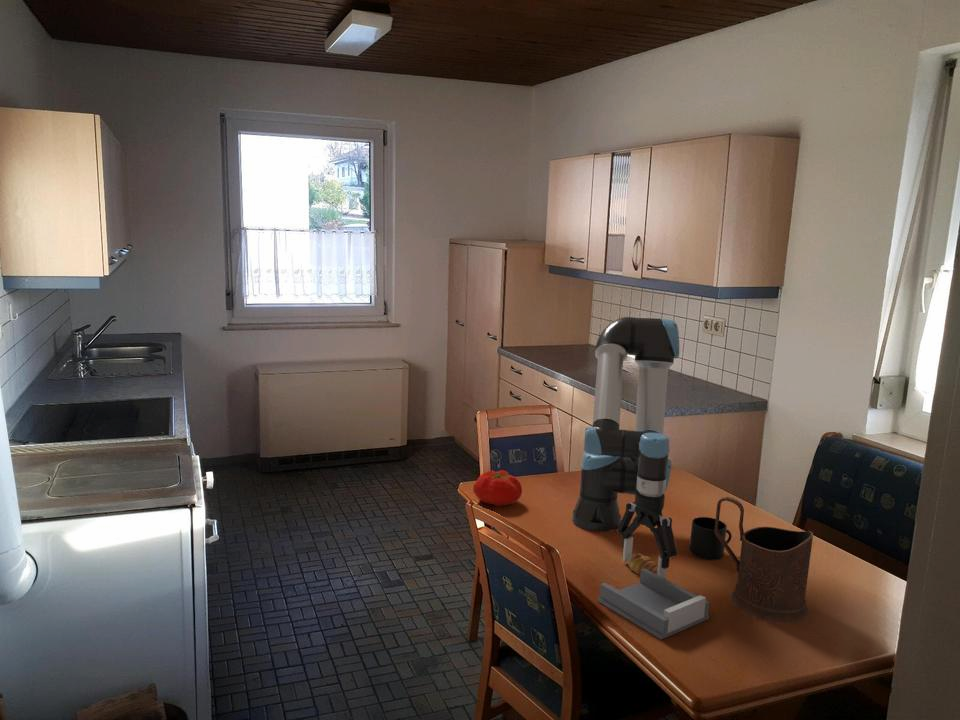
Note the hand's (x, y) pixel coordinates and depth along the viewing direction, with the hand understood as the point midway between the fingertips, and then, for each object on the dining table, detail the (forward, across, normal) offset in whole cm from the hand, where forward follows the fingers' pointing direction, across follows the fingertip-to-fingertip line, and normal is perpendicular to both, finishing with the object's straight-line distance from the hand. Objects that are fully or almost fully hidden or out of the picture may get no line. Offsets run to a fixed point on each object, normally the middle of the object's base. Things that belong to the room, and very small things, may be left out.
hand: (643, 569), depth 198 cm
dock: (+1, +15, -14) cm, 20 cm away
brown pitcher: (+1, +26, +13) cm, 29 cm away
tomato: (+1, -60, -4) cm, 60 cm away
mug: (+1, +2, +26) cm, 26 cm away
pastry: (+1, 0, +1) cm, 1 cm away
